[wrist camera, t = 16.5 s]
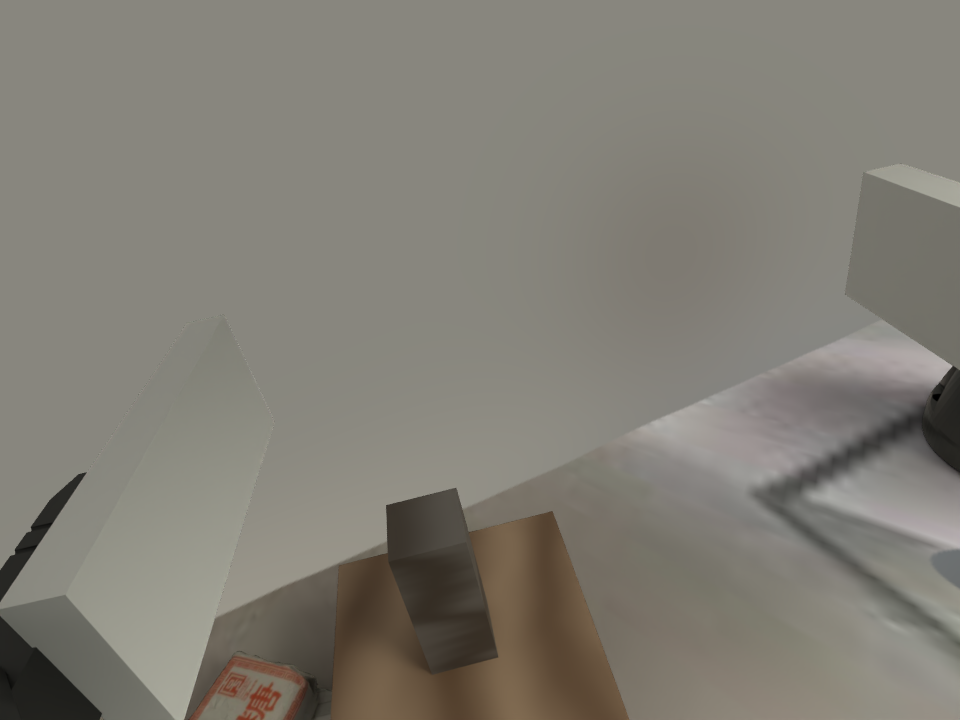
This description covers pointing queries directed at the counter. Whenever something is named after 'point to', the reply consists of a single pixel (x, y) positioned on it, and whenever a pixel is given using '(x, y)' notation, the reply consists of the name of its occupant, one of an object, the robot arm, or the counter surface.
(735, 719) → the counter surface
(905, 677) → the counter surface
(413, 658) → the board with upright post
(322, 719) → the packaged product
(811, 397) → the counter surface
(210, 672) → the counter surface
